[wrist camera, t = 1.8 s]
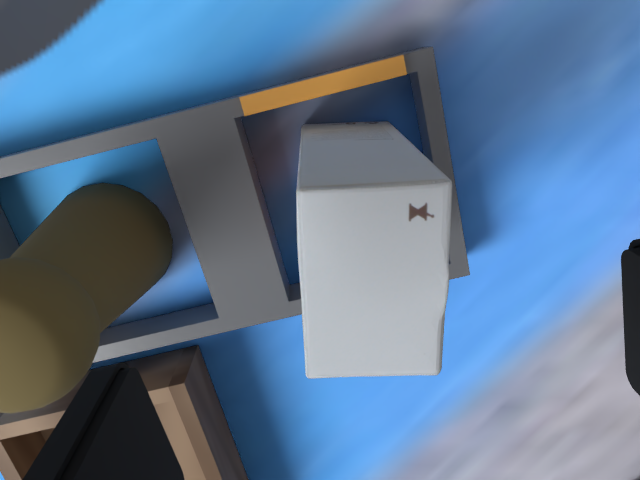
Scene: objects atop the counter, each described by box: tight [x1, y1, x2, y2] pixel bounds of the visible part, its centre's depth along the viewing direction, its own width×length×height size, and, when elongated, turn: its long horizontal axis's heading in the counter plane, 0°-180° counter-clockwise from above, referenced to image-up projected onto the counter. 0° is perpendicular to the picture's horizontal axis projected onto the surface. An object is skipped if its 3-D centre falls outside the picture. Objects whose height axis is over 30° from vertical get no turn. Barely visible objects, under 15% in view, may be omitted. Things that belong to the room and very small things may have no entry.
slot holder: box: [0, 47, 470, 363], centre depth 25 cm, size 22×11×2 cm, turn 104°
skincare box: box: [296, 121, 452, 378], centre depth 20 cm, size 6×4×12 cm
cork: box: [0, 183, 173, 414], centre depth 21 cm, size 6×6×11 cm
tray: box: [0, 345, 248, 480], centre depth 29 cm, size 11×12×4 cm
